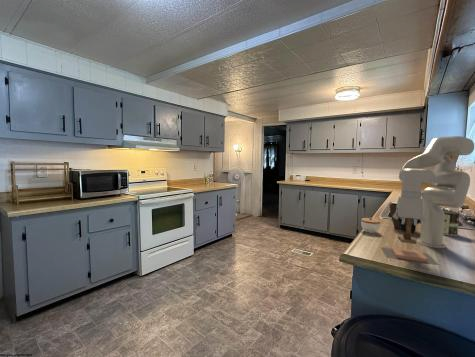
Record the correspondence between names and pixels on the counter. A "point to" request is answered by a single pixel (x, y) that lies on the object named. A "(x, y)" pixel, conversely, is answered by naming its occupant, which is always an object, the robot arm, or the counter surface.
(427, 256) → the mat
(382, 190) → the counter surface
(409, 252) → the tile
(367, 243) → the counter surface
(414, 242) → the wooden pedestal stand
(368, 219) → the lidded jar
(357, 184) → the counter surface
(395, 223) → the plant pot
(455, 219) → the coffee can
